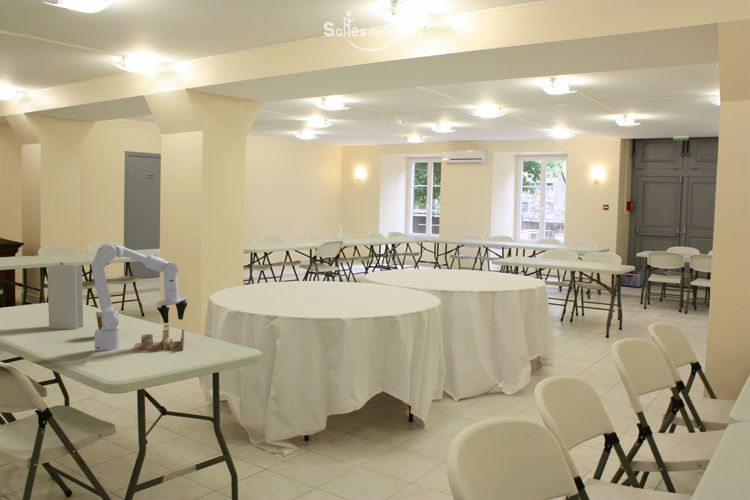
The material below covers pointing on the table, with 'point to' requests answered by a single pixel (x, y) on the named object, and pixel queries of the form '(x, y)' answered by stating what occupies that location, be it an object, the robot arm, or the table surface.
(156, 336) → the slate mat
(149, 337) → the upper offcut
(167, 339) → the plywood sheet
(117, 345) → the robot arm
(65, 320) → the tall grey upright box
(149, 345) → the block
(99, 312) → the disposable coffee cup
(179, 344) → the walnut rack
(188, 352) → the table surface
